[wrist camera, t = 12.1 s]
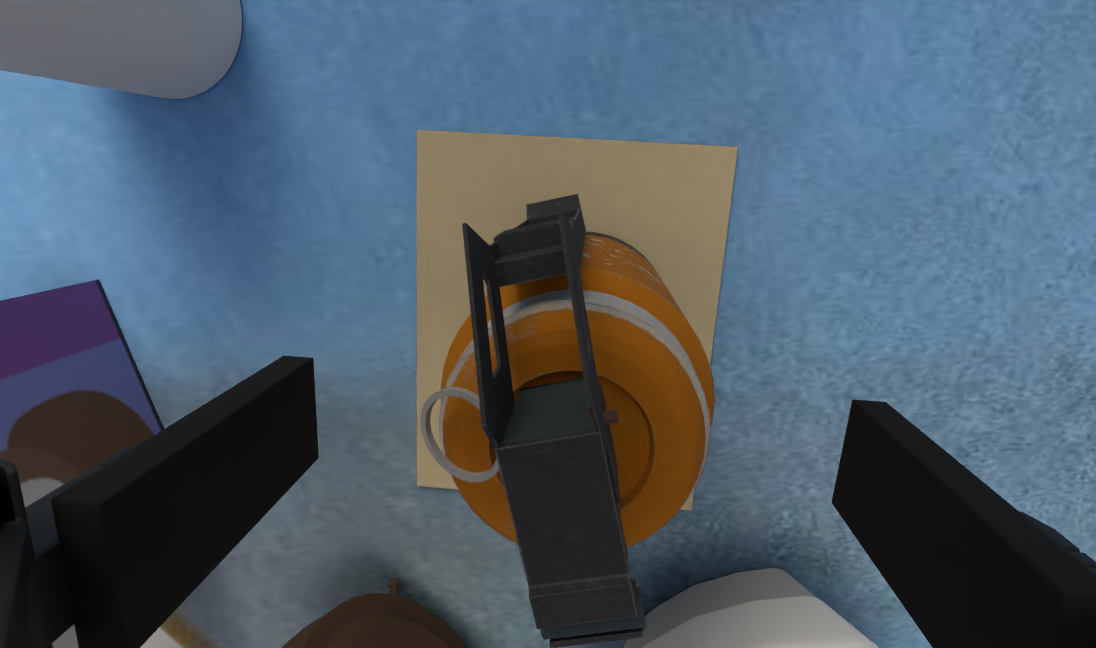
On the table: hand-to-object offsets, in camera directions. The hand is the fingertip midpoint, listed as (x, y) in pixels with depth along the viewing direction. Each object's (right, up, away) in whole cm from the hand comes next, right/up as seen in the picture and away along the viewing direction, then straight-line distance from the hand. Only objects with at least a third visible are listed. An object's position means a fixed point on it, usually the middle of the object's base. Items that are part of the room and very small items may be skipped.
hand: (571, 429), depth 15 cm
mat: (0, +2, +18) cm, 18 cm away
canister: (+1, +4, +17) cm, 18 cm away
